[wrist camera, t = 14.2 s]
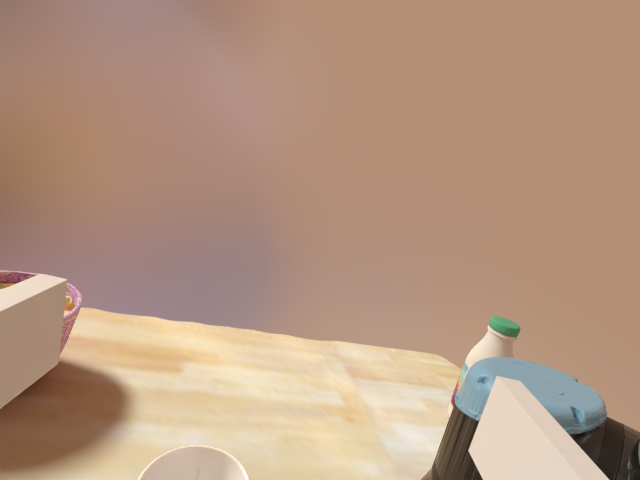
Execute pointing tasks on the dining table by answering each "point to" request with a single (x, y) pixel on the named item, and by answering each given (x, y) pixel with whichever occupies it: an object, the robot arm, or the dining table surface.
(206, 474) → the white cup
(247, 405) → the dining table surface
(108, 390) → the dining table surface
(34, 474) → the dining table surface
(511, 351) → the milk bottle
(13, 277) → the bowl of food
